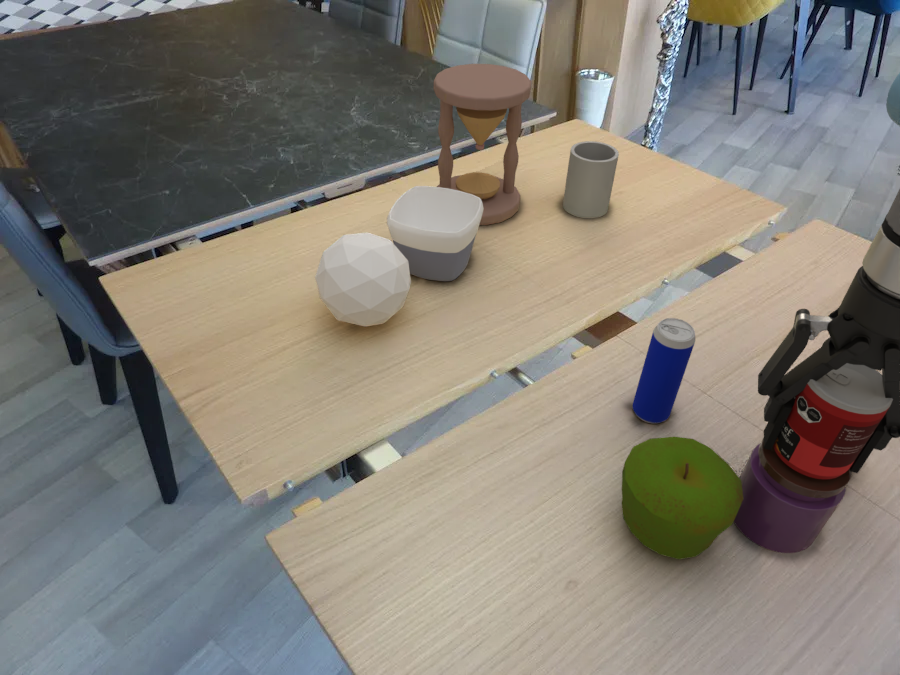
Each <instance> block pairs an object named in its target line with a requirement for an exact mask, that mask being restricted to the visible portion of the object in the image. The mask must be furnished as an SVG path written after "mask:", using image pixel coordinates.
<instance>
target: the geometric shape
mask: <svg viewBox="0 0 900 675" xmlns="http://www.w3.org/2000/svg"><path fill="white" fill-rule="evenodd" d="M314 280H315V284H316V288H317V292H318V295H319V299H320V300H321V301H322V303H323V304H324V305H325V307H326V308H327V309H328V310H329V312H330V313H331V314H332V316H333V317H334V318H335V319H336V320H337V321H339V322H344V323H348V324H353V325H357V326H361V327H370V326H377V325H383V324H385V323H387V321H389V320H390V319H391V318H392V317H393V316H395V314H397V313H398V312H399V311H400V310H401V309H402V308H404V305H405V303H406V300H407V297H408V294H409V292H410V289H411V284H412V278H411V274H410V271H409V263H408V260H407V259H406V258H405V256H404V255H403V254H402V253H401V252H400V251H399V250H398V248H397V247H396V246H395V245H394V243H393V240H392V239H389V238H387V237H383V236H380V235H377V234H374V233H371V232H358V233H357V232H356V233H348V234H343V235H342V236H340V237H339V238H338V239H337V240H335V241H334V242H333V243H332V244H331V245H330V246H328V247H327V248H325V249H324V251H322V254H321V256H320V259H319V264H318V266H317V269H316V274H315V276H314Z"/></svg>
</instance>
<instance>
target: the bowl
mask: <svg viewBox="0 0 900 675" xmlns="http://www.w3.org/2000/svg"><path fill="white" fill-rule="evenodd" d="M483 209H484V208H483V203H482V200H481V199H480V198H479V197H477V196H475V195H472V194H469V193H466V192H462V191H458V190H453V189H448V188H441V187H437V186H432V185H431V186H429V185H415V186H413V187H411V188H409V189H407V190H406V191H405V192H404V193H402V194H401V195H400V196H399V197H398V198H397V199H396V200H395V202H393V204H392V206H391V208H390V209H389V211H388V214H387V217H386V226H387V228H388V231H389V234H390V235H389V236H390V238H391V241H392V243H393V244H394V245H395V246H396V247H397V248H398V250H399V251H400V252H401V253H402V254H403V255H404V256H405V258H406V259H407V260H408V263H409V271H410V275H412V276H415V277H417V278H421V279H424V280H428V281H429V280H430V281H439V282H451V281H455V280H456V279H458V278H459V276H461V275H462V273H463V272H464V271H465V270H466V268H467V267H468V264H469V261H470V258H471V255H472V251H473V247H474V245H475V244H474V243H475V241H476V237H477V234H478V230H479V228H480V225H479V224H480V221H481V217H482V214H483Z"/></svg>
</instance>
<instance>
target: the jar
mask: <svg viewBox="0 0 900 675" xmlns="http://www.w3.org/2000/svg"><path fill="white" fill-rule="evenodd" d="M852 475H853V472H850V469H849V470H848V471H846V472H845V473H844V474H842V475H841V476H839V477H837V478H833V479H816V478H812V477H808V476H806V475H803V474H801V473H799V472H797V471H795V470H793V469H792V468H790V467H789V466H788V465H787V464H785V463H784V462H783V461H782V460H781V459H780V457H779V456H778V455H777V453H776V451H775V449H774V446H773V447H772V449H771V450H768V449H764V436H763V438H762V439H761V442H759V443H758V444H757V445H755V447H753V449H752V451H751V453H750V454H749V457H748V459H747V461H746V462H745V465H744V467H743V469H742V472H741V473H740V476H738V477H739V478H740V480H741V483H742V491H743V501H742V503H741V506H740V508H739V510H738V513H737V515H736V517H735V520H734V522H733V524H734V525H735V526H736V528H737V529H738V530H739V531H740V532H741V533H742V534H743V535H744V536H745V537H746V538H747V539H748V540H750V541H752V542H753V543H754V544H756V545H758V546H759V547H761V548H764V549H766V550H769V551H772V552H776V553H780V554H795V553H801V552H803V551H805V550H807V549H808V548H810V547H811V546H812V545H813V544H814V542H815V541H816V540H817V538H818V536H819V535H820V534H821V532H822V530H823V529H824V528H825V526H826V525H827V523H828V521H829V520H830V518H831V517H832V515H833V514H834V513H835V511H836V509H837V508H838V506H839V505H840V504H841V502H842V500H843V499H844V497H845V495H846V489H847V485H848V484H849V482H850V481H851V478H852Z"/></svg>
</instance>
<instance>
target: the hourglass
mask: <svg viewBox="0 0 900 675" xmlns="http://www.w3.org/2000/svg"><path fill="white" fill-rule="evenodd" d="M531 90H532V81H531V79H530V78H529V76H528V75H527V74H526V73H524V72H522V71H520V70H518V69H516V68H512V67H509V66H505V65H501V64H491V63H467V64H466V63H465V64H458V65H454V66H451V67H447V68H445V69H443V70H441V71H440V72H438V73H436V76H435V77H434V79H433V91H434V94H435V96H436V98H438V99H439V101H440V102H439V121H438V124H437V125H438V127H437V128H438V129H437V133H438V138H439V141H440V145H441V148H440V149H441V150H440V153H439V156H438V159H437V169H438V176H439V184H438V185H437V186H436V187H441V188H448V189H453V190H458V191H462V192H466V193H469V194H472V195H475V196H477V197H479V198H480V199H481V200H482V203H483V208H484V209H483V214H482V217H481V221H480V224H479V226H488V225H494V224H500V223H502V222H504V221H507V220H508V219H511V218H512V217H514V215H515V214H516V213H517V212H518V211H519V210H520V202H521V193H520V192H519V190H518V188H517V187H516V186H515V182H516V172H517V168H518V164H519V157H520V156H519V151H518V145H517V142H518V139H519V137H520V134H521V131H522V125H523V121H522V120H523V119H522V107H523V106H522V105H523V103H525V102H526V101H527V100H529V98H530V95H531ZM454 107H455V109H456V112H457V115H458V117H459V119H460V120H461V122H462V124H463V126H464V127H465V129H466V130H467V131H468V133H469V135H470V137H472V139H473V140H474V142H475V149H476V150H478V151H483V150H484V149H485V142H487V140H488V139H489V137H490V136H491V135H492V134H493V133H494V132H495V130H496V129H497V128H498V126H499V125H500V124H501V123H502V121H503V120H504V119H505V116H506V114H507V117H506V122H505V132H506V137H507V138H506V139H507V145H506V148H505V151H504V154H503V158H502V159H503V160H502V164H503V178H502V177H498V176H495V175H493V174H490V173H488V172H487V173H486V172H481V171H480V172H479V171H478V172H477V171H475V172H467V173H464V174H459V175H454V176H452V175H453V171H454V169H453V168H454V158H453V153H452V151H451V145H452V142H453V139H454V134H455V122H454V116H453V114H454V111H453V109H454ZM507 111H508V112H507Z"/></svg>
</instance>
